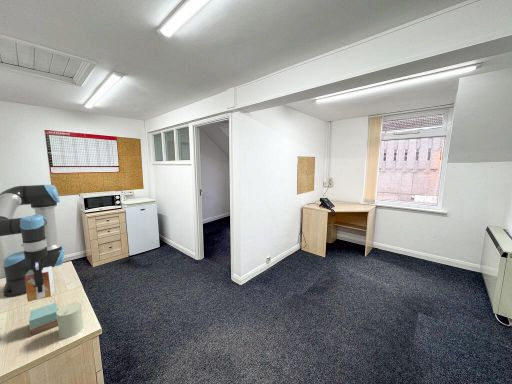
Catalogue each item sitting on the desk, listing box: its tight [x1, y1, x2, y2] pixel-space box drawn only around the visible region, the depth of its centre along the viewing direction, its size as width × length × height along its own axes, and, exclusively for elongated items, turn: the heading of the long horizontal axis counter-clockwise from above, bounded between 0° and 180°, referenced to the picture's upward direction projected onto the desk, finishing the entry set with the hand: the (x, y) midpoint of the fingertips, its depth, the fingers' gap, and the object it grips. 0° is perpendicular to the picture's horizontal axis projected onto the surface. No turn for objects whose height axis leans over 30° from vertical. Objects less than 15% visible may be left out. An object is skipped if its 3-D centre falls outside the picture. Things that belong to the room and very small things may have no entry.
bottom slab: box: [29, 308, 59, 338], centre depth 103 cm, size 10×10×4 cm
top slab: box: [28, 302, 58, 330], centre depth 103 cm, size 9×9×4 cm
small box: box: [25, 266, 55, 303], centre depth 100 cm, size 8×6×13 cm
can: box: [56, 302, 85, 339], centre depth 100 cm, size 9×9×12 cm
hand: (41, 293), depth 101 cm, fingers closed on small box, 7 cm apart
